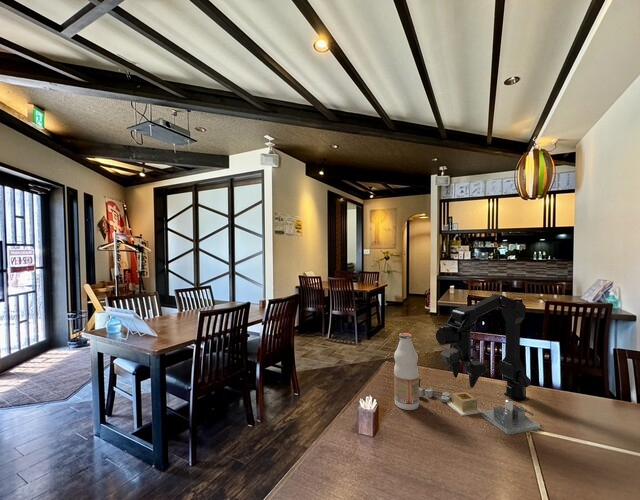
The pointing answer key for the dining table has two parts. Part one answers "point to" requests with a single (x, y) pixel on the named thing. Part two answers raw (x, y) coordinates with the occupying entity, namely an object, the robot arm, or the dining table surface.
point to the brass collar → (464, 401)
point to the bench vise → (510, 418)
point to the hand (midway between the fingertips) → (463, 382)
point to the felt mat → (464, 412)
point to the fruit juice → (406, 374)
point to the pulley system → (430, 393)
